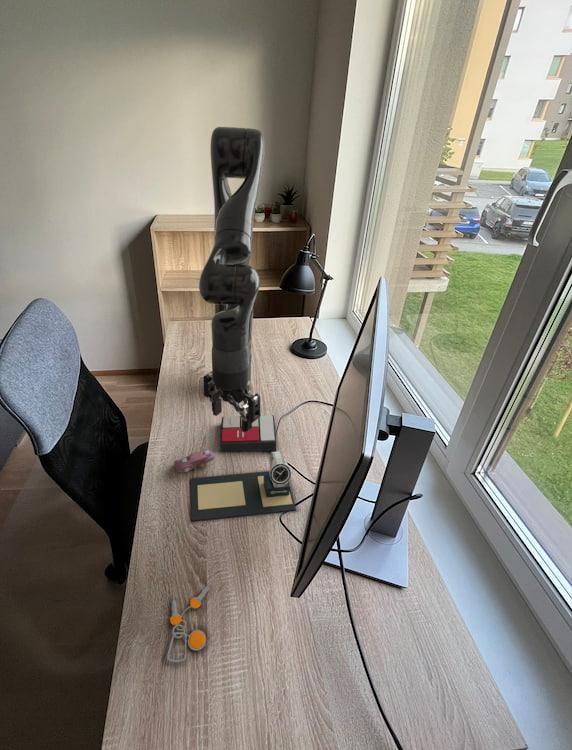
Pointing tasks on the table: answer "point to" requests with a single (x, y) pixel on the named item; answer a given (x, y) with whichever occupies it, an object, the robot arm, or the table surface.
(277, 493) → the watch
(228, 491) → the desk mat
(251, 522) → the table surface
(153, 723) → the table surface
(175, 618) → the key chain
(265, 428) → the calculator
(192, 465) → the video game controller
